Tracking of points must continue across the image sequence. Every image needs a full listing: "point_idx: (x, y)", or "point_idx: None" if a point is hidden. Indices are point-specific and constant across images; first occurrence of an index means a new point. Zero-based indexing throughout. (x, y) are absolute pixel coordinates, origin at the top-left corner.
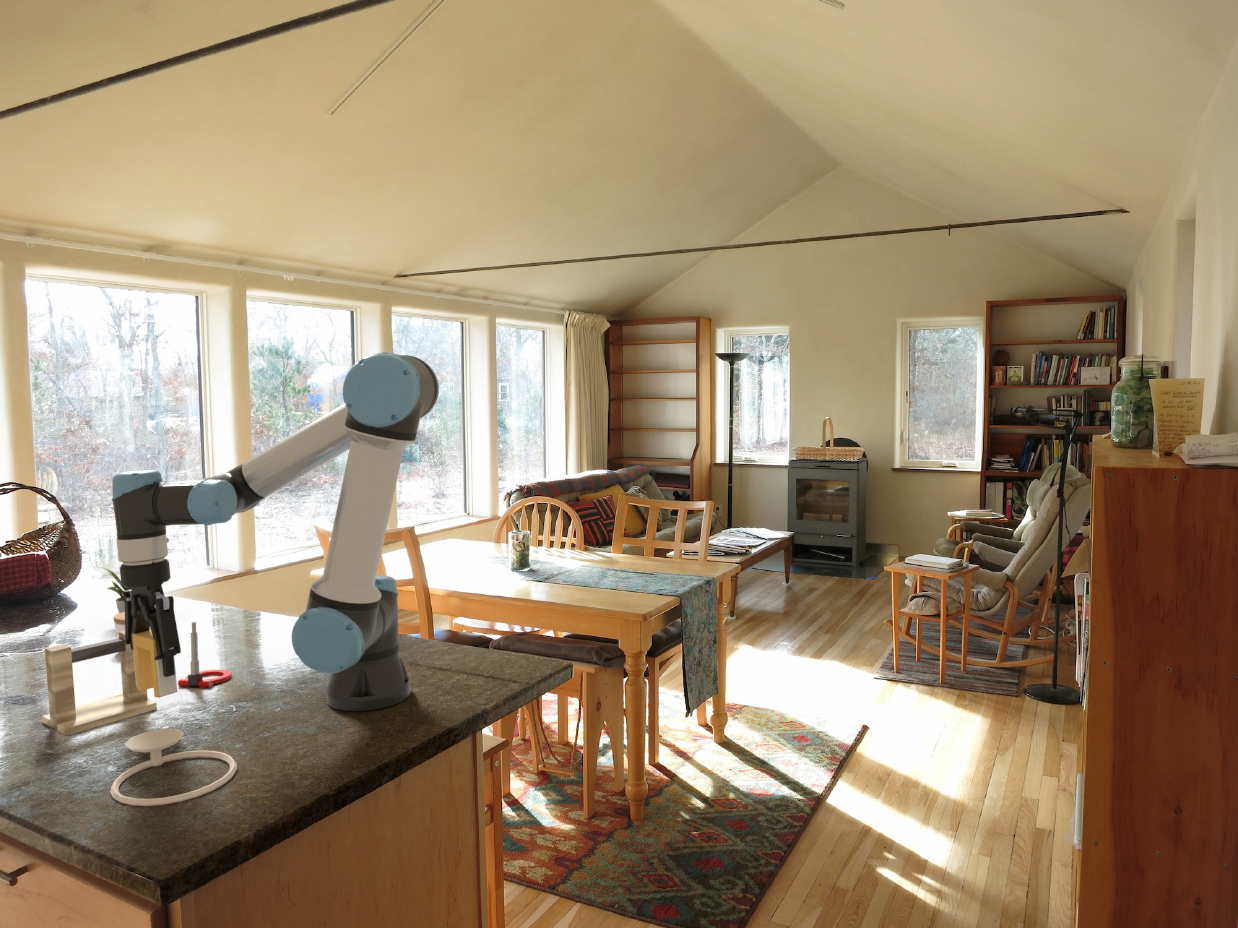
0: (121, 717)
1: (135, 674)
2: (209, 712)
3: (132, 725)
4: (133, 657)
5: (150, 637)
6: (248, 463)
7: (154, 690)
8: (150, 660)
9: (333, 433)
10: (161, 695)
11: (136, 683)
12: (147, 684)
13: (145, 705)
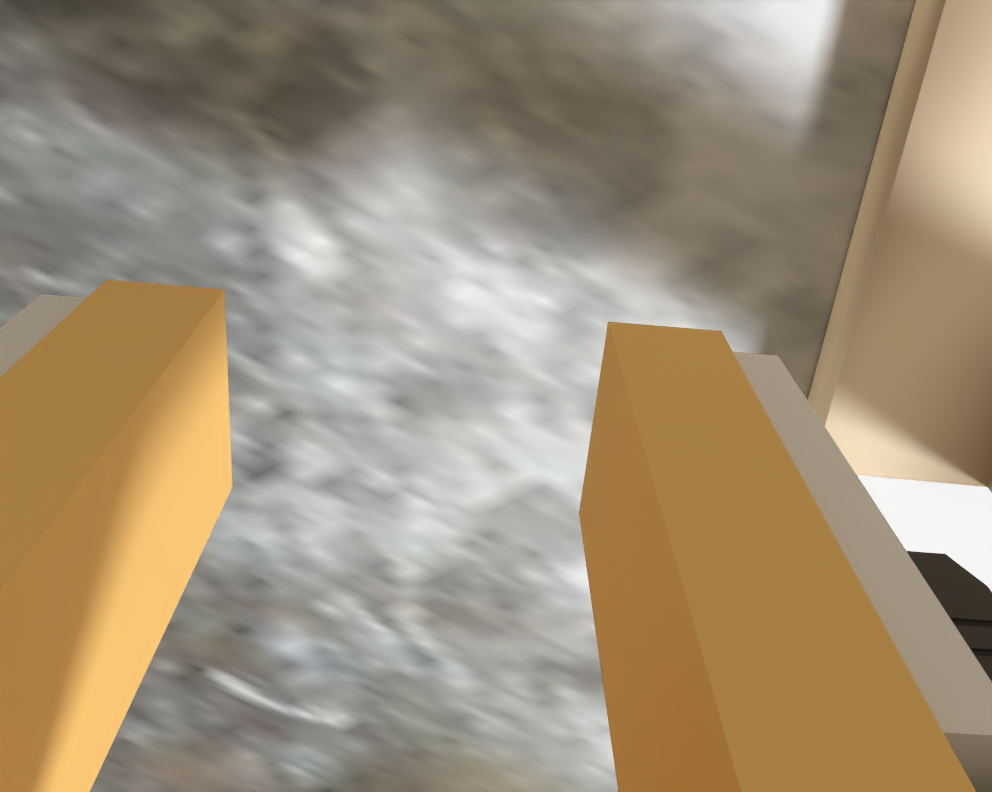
0: (880, 150)
1: (813, 437)
2: (331, 582)
3: (622, 114)
4: (952, 625)
5: None
6: None
7: (183, 317)
8: (628, 711)
9: None
10: (38, 302)
11: (776, 376)
12: (601, 426)
13: (840, 385)
